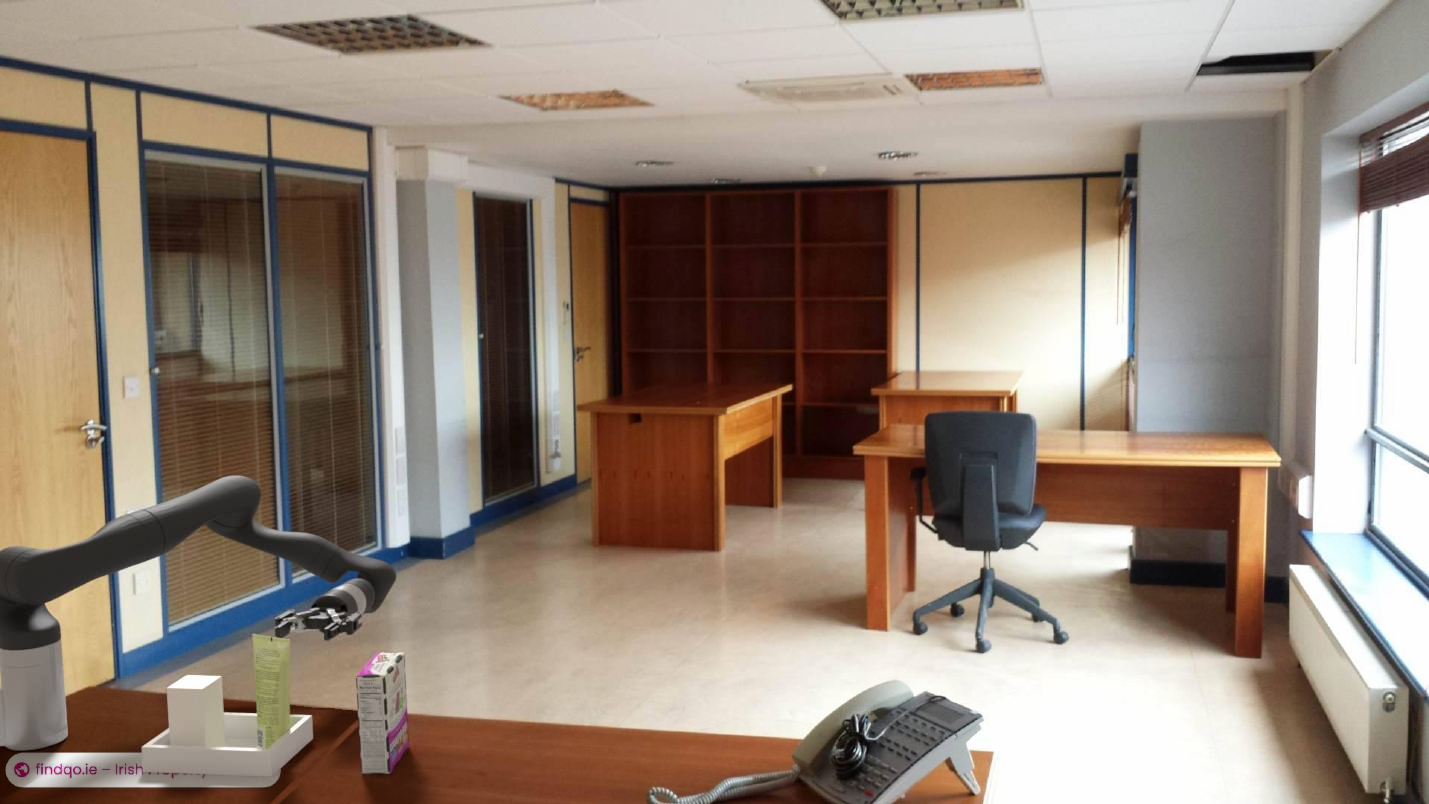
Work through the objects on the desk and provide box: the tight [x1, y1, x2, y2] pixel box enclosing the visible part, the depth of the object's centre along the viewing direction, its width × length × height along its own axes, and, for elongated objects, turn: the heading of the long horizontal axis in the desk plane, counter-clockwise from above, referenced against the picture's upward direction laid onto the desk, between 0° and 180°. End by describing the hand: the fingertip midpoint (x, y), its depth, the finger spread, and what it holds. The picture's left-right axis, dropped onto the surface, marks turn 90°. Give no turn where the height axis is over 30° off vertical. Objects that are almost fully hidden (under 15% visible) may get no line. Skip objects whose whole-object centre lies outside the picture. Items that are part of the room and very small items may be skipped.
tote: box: [141, 711, 314, 777], centre depth 192 cm, size 21×15×5 cm
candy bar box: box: [355, 651, 410, 775], centre depth 191 cm, size 11×5×16 cm, turn 179°
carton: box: [166, 674, 225, 747], centre depth 192 cm, size 6×6×12 cm
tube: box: [251, 633, 291, 749], centre depth 191 cm, size 6×5×20 cm
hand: (301, 634), depth 205 cm, fingers open, 8 cm apart
